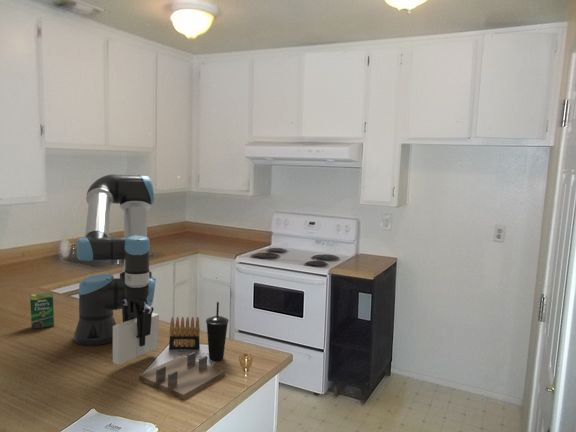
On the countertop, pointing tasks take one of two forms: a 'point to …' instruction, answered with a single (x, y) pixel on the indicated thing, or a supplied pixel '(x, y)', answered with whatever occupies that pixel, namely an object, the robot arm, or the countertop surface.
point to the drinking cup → (216, 336)
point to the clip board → (182, 375)
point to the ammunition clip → (184, 335)
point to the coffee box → (42, 310)
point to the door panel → (132, 339)
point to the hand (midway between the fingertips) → (136, 352)
